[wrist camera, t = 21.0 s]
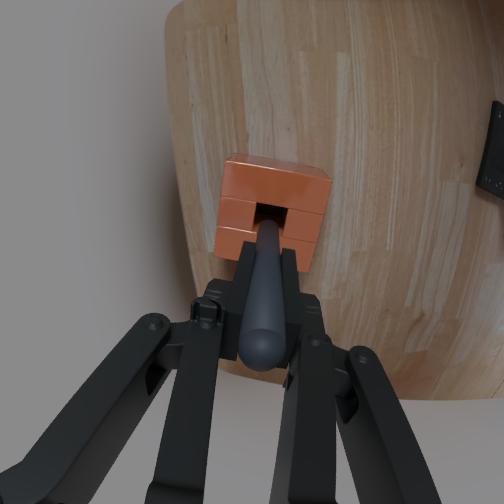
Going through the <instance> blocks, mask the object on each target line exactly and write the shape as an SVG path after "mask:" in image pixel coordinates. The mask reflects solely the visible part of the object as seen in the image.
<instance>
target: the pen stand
mask: <svg viewBox="0 0 504 504" xmlns="http://www.w3.org/2000/svg"><path fill="white" fill-rule="evenodd" d="M331 184H332V180H331V179H330V178H329V176H328V175H327V174H326V173H325V172H324V170H323V169H318V168H314V167H309V166H304V165H299V164H294V163H289V162H284V161H279V160H273V159H267V158H262V157H256V156H250V155H243V154H237V153H234V154H233V155H232V156H230V157H229V158H228V159H227V160H226V161H225V165H224V172H223V179H222V187H221V195H220V196H221V197H220V203H219V211H218V219H217V228H216V237H215V246H214V257H219V258H225V259H230V260H236V261H238V260H239V256H240V252H241V248H242V245H243V241H249V242H255V243H256V238H257V232H258V227H259V225H260V223H261V222H262V221H264V220H273V221H274V222H275V223H276V224H277V225H278V229H279V241H280V255H281V252H282V247H283V248H288V249H294V250H295V252H296V261H297V270H298V272H304V273H308V272H309V268H310V265H311V261H312V258H313V254H314V250H315V247H316V243H317V239H318V236H319V232H320V228H321V224H322V220H323V217H324V213H325V209H326V205H327V201H328V196H329V192H330V188H331ZM258 203H263V204H269V205H274V206H280V207H284V209H283V214H282V218H281V217H275V216H270V215H264V214H258V213H256V210H257V204H258Z"/></svg>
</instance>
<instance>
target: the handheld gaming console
mask: <svg viewBox="0 0 504 504" xmlns="http://www.w3.org/2000/svg"><path fill="white" fill-rule="evenodd" d="M476 185H477V186H478V187H480V188H482V189H484V190H486V191H488V192H490V193H492V194H494V195H496V196H498V197H500V198H502V199H503V200H504V105H503V104H502V103H500V102H499V101H493V104H492V111H491V118H490V124H489V129H488V135H487V140H486V144H485V149H484V154H483V158H482V162H481V166H480V170H479V174H478V177H477V181H476Z"/></svg>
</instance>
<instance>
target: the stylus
mask: <svg viewBox="0 0 504 504" xmlns="http://www.w3.org/2000/svg"><path fill="white" fill-rule="evenodd" d="M256 243H257V244H256V250H255V256H254V262H253V268H252V274H251V280H250V286H249V292H248V296H247V300H246V305H245V309H244V314H243V318H242V324H241V329H240V335H239V341H238V354H239V357H240V359H241V361H242V362H243V363H244V365H246V366H247V367H248V368H250V369H252V370H255V371H261V372H262V371H269V370H271V369H274V368H275V367H277V366H278V365H279V364H280V363H281V362H282V360H283V358H284V356H285V353H286V335H285V316H284V301H283V286H282V270H281V255H280V241H279V229H278V225H277V224H276V223H275V222H274V221H273V220H264V221H262V222H261V223H260V225H259V227H258V232H257V238H256Z"/></svg>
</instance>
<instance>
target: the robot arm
mask: <svg viewBox="0 0 504 504" xmlns="http://www.w3.org/2000/svg"><path fill="white" fill-rule="evenodd" d="M256 244H257V243H255V242H249V241H243V245H242V248H241V252H240V256H239V260H238V263H237V267H236V271H235V275H234V279H233V282H232V281H226V280H221V279H215V278H214V279H213V280H211V281H210V282H209V283H208V285H207V287H206V290H205V292H204V295H203V297H198V298H196V299H195V300H193V302H192V303H191V316H190V320H189V321H186V322H180V323H170V320H169V319H168V318H167V317H166V316H164V315H163V314H159V313H149V314H146V315H144V316H142V317H141V318H140V319H139V320H138V321H137V322H136V323H135V325H134V326H133V327H132V328H131V329H130V330H129V331H128V332H127V334H126V335H125V336H124V337H123V338H122V339H121V340H120V342H119V343H118V344H117V345H116V346H115V347H114V349H113V350H112V351H111V352H110V353H109V354H108V355H107V357H106V358H105V359H104V360H103V361H102V362H101V364H100V365H99V366H98V367H97V368H96V369H95V371H94V372H93V373H92V374H91V375H90V377H89V378H88V379H87V380H86V381H85V382H84V384H83V385H82V386H81V387H80V388H79V390H78V391H77V392H76V393H75V394H74V396H73V397H72V398H71V399H70V400H69V402H68V403H67V404H66V405H65V407H64V408H63V409H62V410H61V412H60V413H59V414H58V415H57V417H56V418H55V419H54V420H53V422H52V423H51V424H50V425H49V427H48V428H47V429H46V430H45V432H44V433H43V434H42V436H41V437H40V438H39V440H38V441H37V442H36V443H35V445H34V446H33V447H32V448H31V450H30V451H29V452H28V454H27V455H26V456H25V458H24V459H23V461H21V462H19V463H18V464H16V465H14V466H12V467H11V468H9V469H7V470H5V471H3V472H2V473H0V504H88V503H89V502H90V500H91V499H92V498H93V496H94V494H95V493H96V491H97V489H98V488H99V486H100V484H101V483H102V481H103V480H104V478H105V476H106V475H107V473H108V472H109V470H110V468H111V467H112V465H113V464H114V462H115V460H116V459H117V457H118V455H119V454H120V452H121V451H122V449H123V447H124V446H125V444H126V442H127V441H128V439H129V438H130V436H131V434H132V433H133V431H134V430H135V428H136V426H137V425H138V423H139V422H140V420H141V418H142V417H143V415H144V414H145V412H146V410H147V409H148V407H149V406H150V404H151V402H152V401H153V399H154V398H155V396H156V394H157V393H158V391H159V390H160V388H161V386H162V385H163V383H164V381H165V380H166V378H167V377H168V375H169V374H170V372H171V370H172V369H177V374H176V378H175V382H174V386H173V390H172V394H171V398H170V403H169V407H168V412H167V416H166V420H165V425H164V429H163V434H162V438H161V443H160V448H159V452H158V457H157V462H156V467H155V472H154V477H153V481H152V482H151V483H150V485H149V487H148V490H147V494H146V498H145V503H144V504H203V498H204V487H205V477H206V467H207V457H208V448H209V438H210V429H211V420H212V410H213V401H214V393H215V385H216V377H217V369H218V360H219V358H222V359H227V360H233V361H236V359H237V353H238V341H239V335H240V329H241V324H242V318H243V314H244V309H245V305H246V300H247V296H248V292H249V286H250V280H251V274H252V268H253V262H254V256H255V250H256ZM281 270H282V286H283V301H284V316H285V335H286V353H285V356H284V358H283V360H282V362H281V363H280V364H279V365H278V366H277V368H285V369H287V366H288V363H289V371H288V374H287V377H286V379H285V382H284V384H283V387H284V388H285V393H284V402H283V411H282V419H281V427H280V435H279V442H278V449H277V456H276V463H275V470H274V476H273V483H272V489H271V495H270V501H269V504H338V503H337V502H336V500H335V490H336V422H337V425H338V428H339V432H340V435H341V438H342V442H343V445H344V449H345V452H346V456H347V459H348V462H349V466H350V470H351V473H352V477H353V480H354V484H355V487H356V491H357V495H358V498H359V502H360V504H442V503H441V500H440V498H439V495H438V492H437V490H436V487H435V484H434V482H433V479H432V476H431V474H430V471H429V469H428V466H427V464H426V461H425V459H424V457H423V454H422V452H421V449H420V447H419V445H418V442H417V440H416V438H415V435H414V433H413V431H412V429H411V426H410V424H409V422H408V420H407V417H406V415H405V413H404V411H403V409H402V407H401V404H400V403H399V400H398V398H397V396H396V394H395V392H394V390H393V387H392V385H391V383H390V381H389V379H388V377H387V375H386V373H385V371H384V369H383V367H382V365H381V363H380V361H379V359H378V357H377V355H376V354H375V353H374V351H372V350H371V349H370V348H367V347H365V346H354V347H352V348H351V349H350V351H346V350H344V349H341V348H338V347H336V346H334V345H333V344H332V341H331V339H330V337H329V336H328V335H327V334H325V329H324V324H323V318H322V312H321V307H320V301H319V300H318V299H317V297H316V296H315V295H312V294H306V293H300V290H299V280H298V270H297V261H296V252H295V250H294V249H288V248H283V247H282V252H281Z"/></svg>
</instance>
